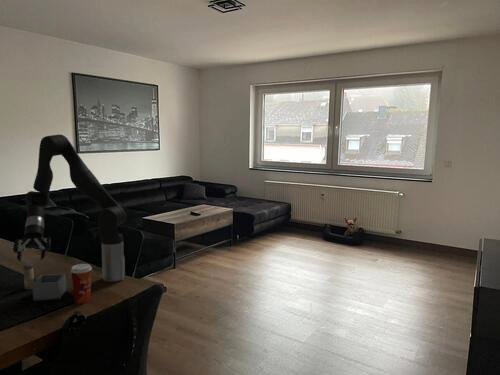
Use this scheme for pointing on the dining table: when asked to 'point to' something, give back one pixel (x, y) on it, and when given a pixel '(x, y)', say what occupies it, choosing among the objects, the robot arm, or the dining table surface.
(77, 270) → the paper cup
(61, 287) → the grey open box
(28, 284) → the birch peg
